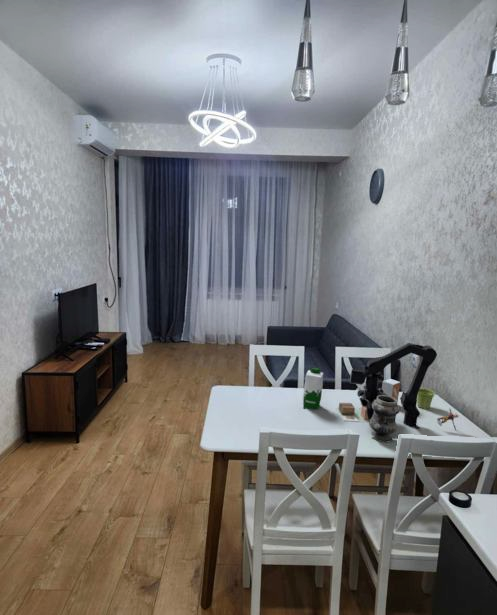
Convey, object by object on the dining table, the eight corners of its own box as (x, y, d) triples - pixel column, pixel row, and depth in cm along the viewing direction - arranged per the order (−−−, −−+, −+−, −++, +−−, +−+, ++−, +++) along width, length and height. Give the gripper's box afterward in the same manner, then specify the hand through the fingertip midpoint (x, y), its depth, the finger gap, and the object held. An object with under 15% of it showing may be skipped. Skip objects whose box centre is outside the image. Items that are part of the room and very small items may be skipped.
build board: (377, 424, 198) (377, 421, 198) (344, 422, 197) (344, 420, 197) (365, 410, 214) (365, 408, 214) (334, 409, 213) (335, 406, 213)
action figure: (440, 433, 200) (458, 426, 200) (443, 436, 197) (462, 429, 198) (434, 411, 198) (452, 404, 198) (438, 413, 195) (456, 406, 195)
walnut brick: (354, 415, 205) (354, 407, 204) (342, 415, 204) (342, 407, 203) (350, 410, 210) (351, 403, 210) (338, 410, 210) (339, 402, 209)
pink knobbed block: (374, 420, 201) (375, 409, 200) (364, 419, 200) (365, 408, 199) (370, 415, 206) (371, 405, 205) (360, 415, 205) (361, 404, 204)
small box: (390, 408, 219) (393, 384, 217) (379, 404, 224) (382, 381, 222) (397, 405, 225) (400, 381, 223) (386, 401, 229) (389, 378, 227)
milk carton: (321, 405, 216) (324, 368, 213) (318, 412, 207) (322, 373, 204) (304, 402, 218) (307, 365, 215) (301, 409, 210) (304, 370, 207)
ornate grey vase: (395, 446, 178) (400, 406, 175) (366, 439, 182) (371, 400, 179) (396, 434, 189) (401, 396, 186) (368, 428, 193) (373, 391, 190)
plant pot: (429, 404, 229) (431, 389, 228) (435, 411, 220) (437, 395, 219) (412, 402, 230) (414, 387, 229) (417, 409, 221) (419, 393, 219)
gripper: (395, 393, 192) (391, 425, 194) (380, 379, 210) (376, 409, 213) (372, 392, 191) (368, 424, 193) (358, 378, 209) (355, 408, 212)
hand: (367, 416), depth 203 cm, fingers closed on pink knobbed block, 5 cm apart
